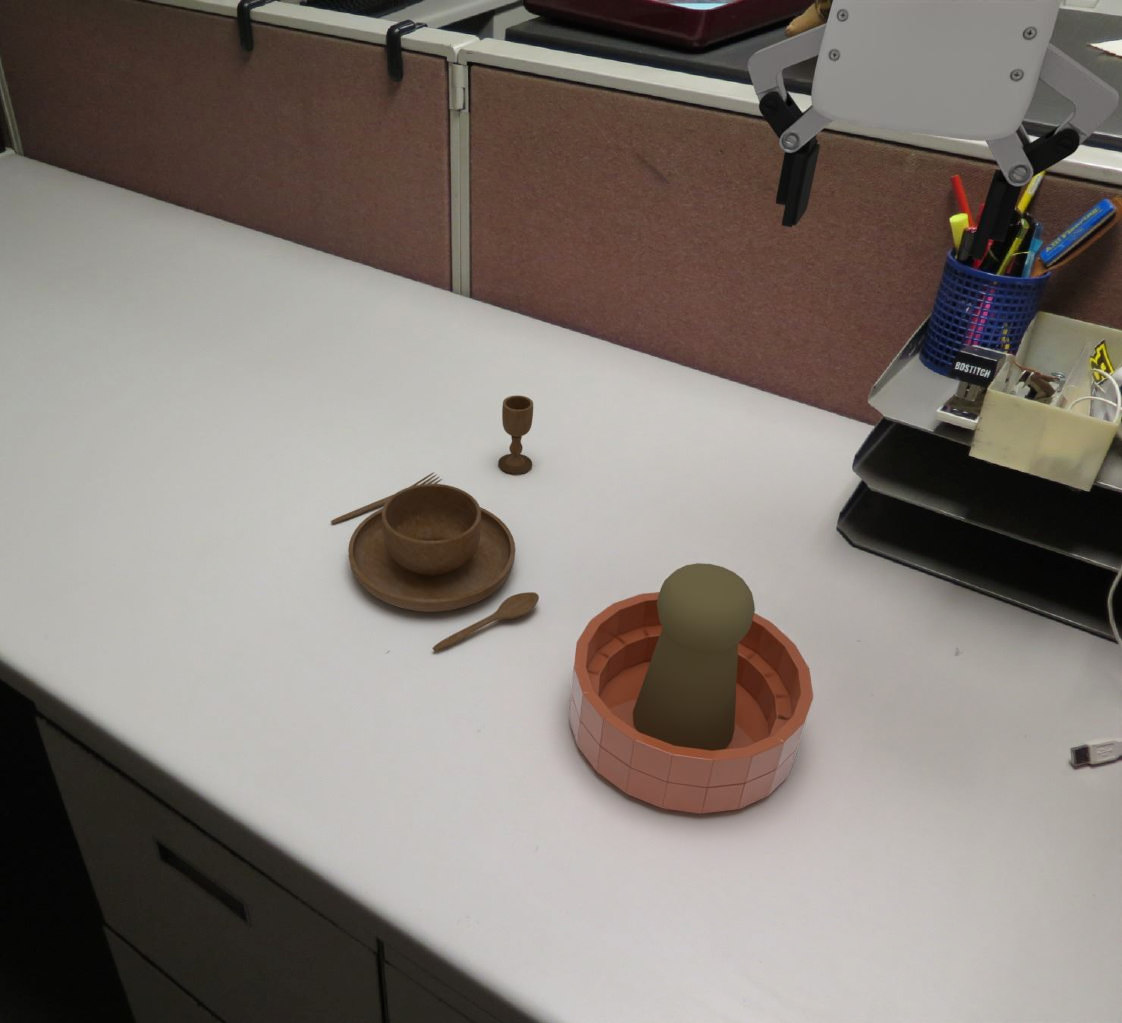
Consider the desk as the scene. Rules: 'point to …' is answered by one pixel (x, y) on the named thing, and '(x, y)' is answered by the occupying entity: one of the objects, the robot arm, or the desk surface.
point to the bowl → (672, 771)
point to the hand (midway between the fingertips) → (882, 234)
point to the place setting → (442, 542)
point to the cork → (695, 658)
